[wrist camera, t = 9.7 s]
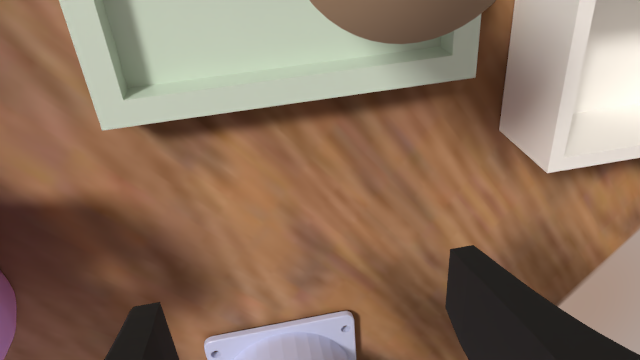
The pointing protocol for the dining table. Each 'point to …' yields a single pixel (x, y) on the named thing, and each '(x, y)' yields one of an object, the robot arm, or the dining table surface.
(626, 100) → the square cup
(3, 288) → the teakettle
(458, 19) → the walnut dowel
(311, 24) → the tray
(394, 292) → the dining table surface
